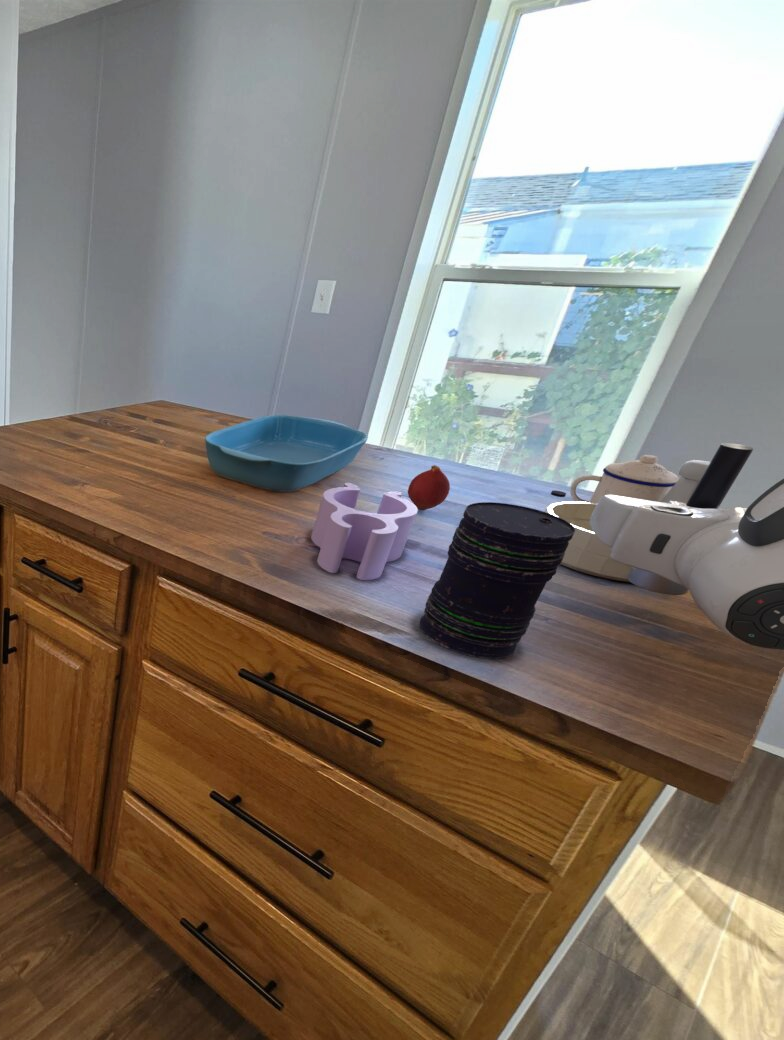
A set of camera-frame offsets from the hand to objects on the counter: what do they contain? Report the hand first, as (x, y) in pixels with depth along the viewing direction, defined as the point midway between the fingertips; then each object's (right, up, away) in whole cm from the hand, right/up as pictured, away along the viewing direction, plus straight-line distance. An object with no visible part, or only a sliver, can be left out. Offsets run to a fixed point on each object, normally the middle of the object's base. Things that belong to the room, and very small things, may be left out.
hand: (695, 511), depth 78 cm
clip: (-29, -3, +20) cm, 36 cm away
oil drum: (-28, -15, 0) cm, 31 cm away
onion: (-9, +5, +35) cm, 37 cm away
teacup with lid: (+19, +2, +31) cm, 37 cm away
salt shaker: (+21, -2, +24) cm, 32 cm away
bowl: (+6, -5, +19) cm, 20 cm away
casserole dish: (-26, +15, +53) cm, 61 cm away
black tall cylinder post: (-1, -9, +4) cm, 10 cm away
